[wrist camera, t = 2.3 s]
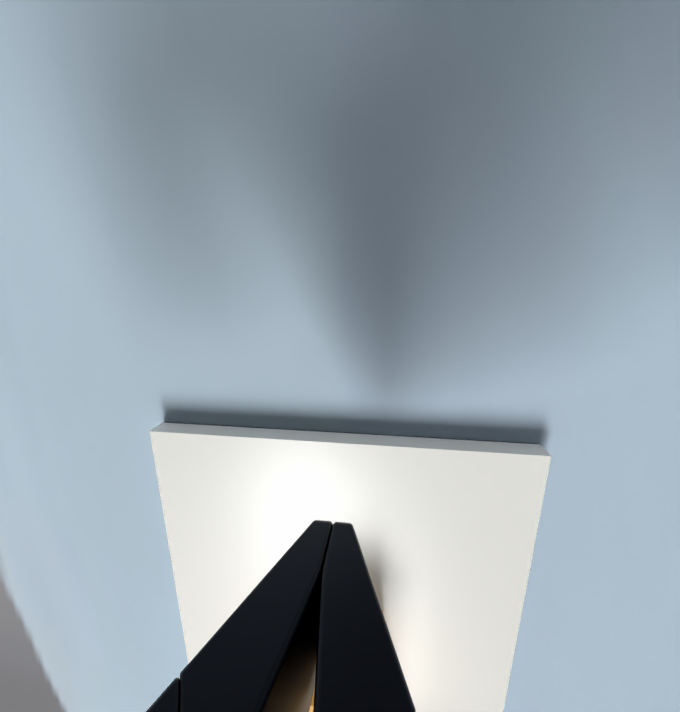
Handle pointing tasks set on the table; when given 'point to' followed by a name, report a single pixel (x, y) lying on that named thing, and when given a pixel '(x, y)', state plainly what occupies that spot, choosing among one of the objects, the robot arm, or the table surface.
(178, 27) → the table surface
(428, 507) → the mount plate
